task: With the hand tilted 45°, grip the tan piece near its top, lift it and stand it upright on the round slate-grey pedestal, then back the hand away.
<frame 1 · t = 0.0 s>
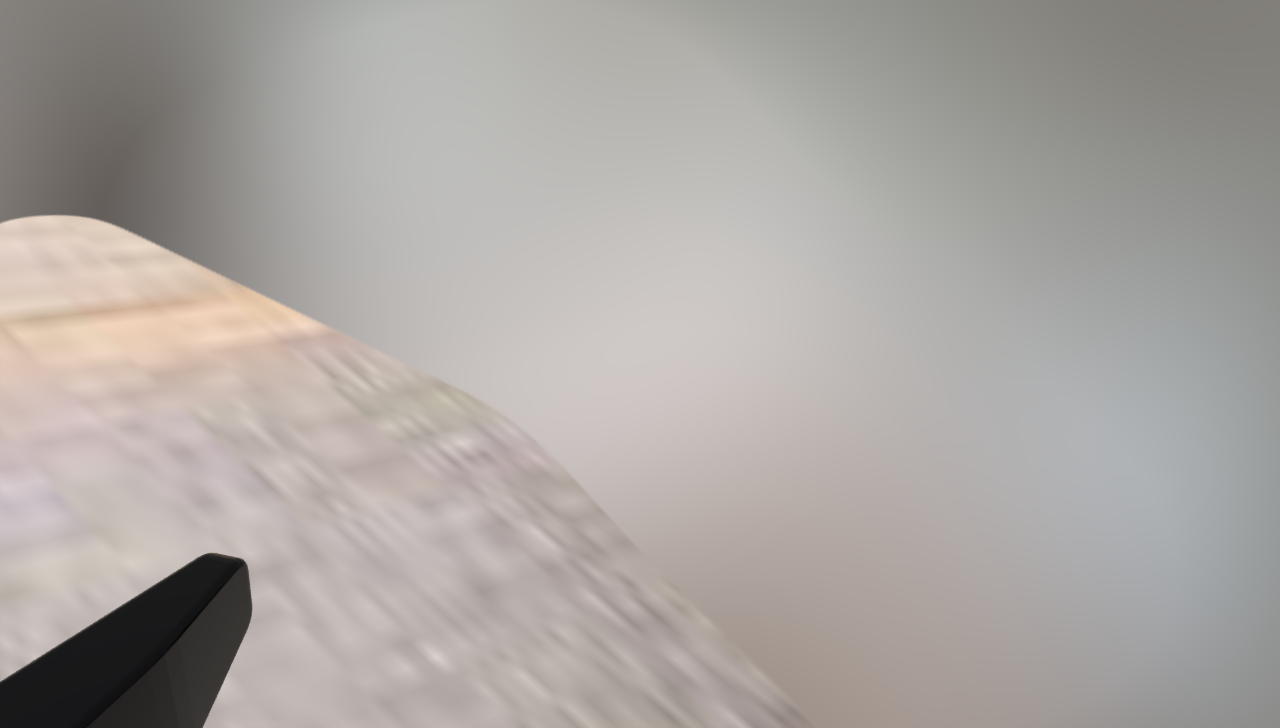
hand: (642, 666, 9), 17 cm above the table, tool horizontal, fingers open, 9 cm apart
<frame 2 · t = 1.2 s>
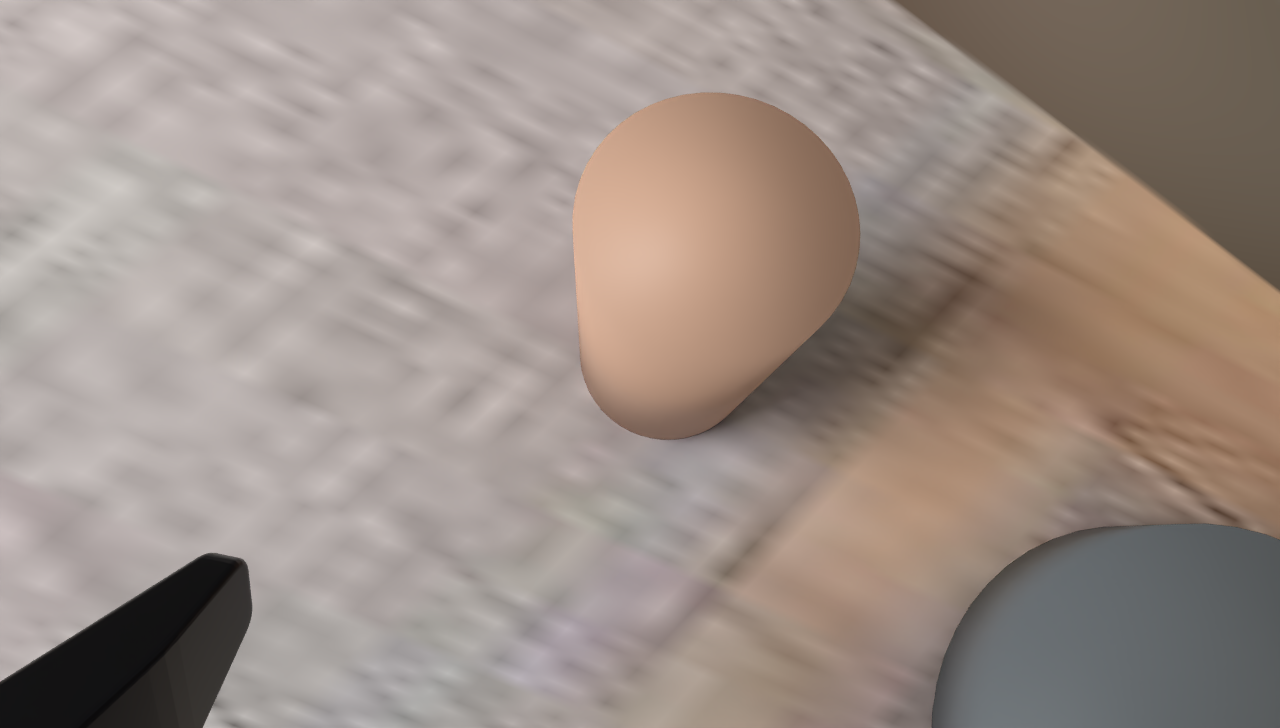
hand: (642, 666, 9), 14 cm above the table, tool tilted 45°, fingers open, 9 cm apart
tan piece: (666, 353, 24), on the table
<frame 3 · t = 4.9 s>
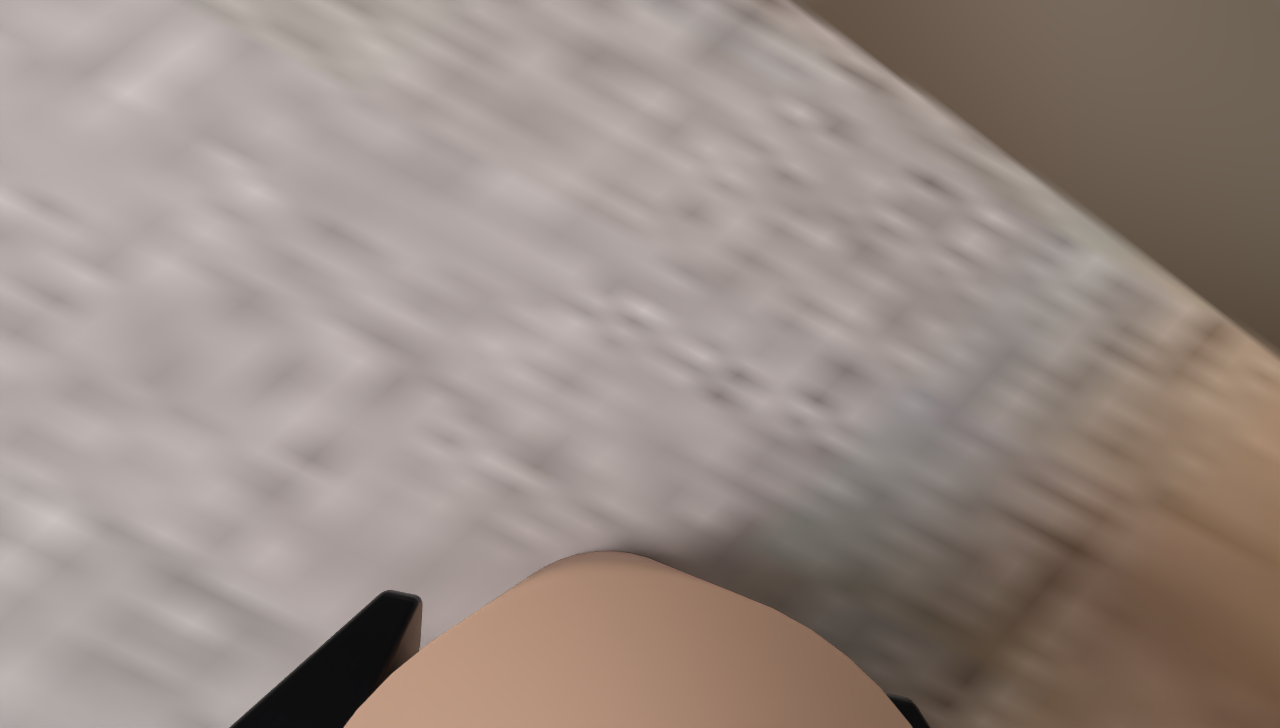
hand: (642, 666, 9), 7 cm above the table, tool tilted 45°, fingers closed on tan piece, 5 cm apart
tan piece: (605, 689, 15), on the table, touching gripper
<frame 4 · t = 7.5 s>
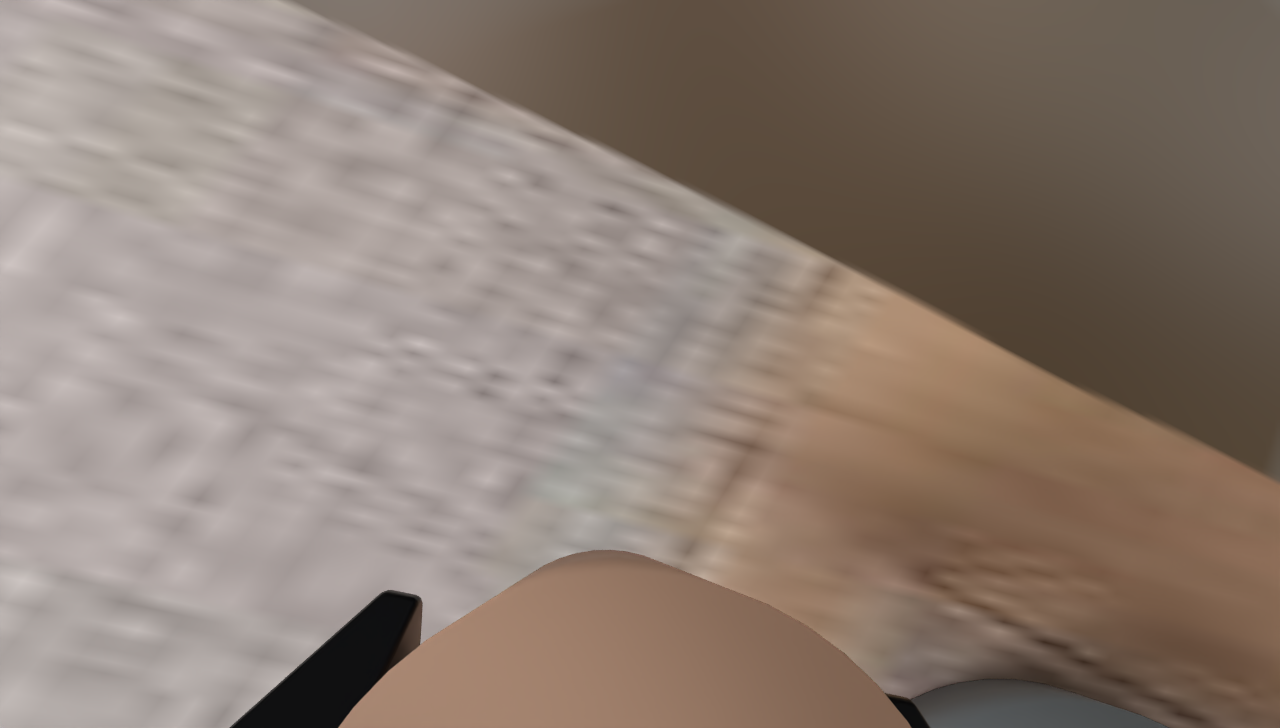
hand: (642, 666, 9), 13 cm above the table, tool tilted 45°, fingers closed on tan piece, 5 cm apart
tan piece: (604, 687, 15), point 7 cm above the table, touching gripper
when the fingers open (11 cm above the table, at t = 9.9 s): tan piece drops 1 cm, resting on pedestal.
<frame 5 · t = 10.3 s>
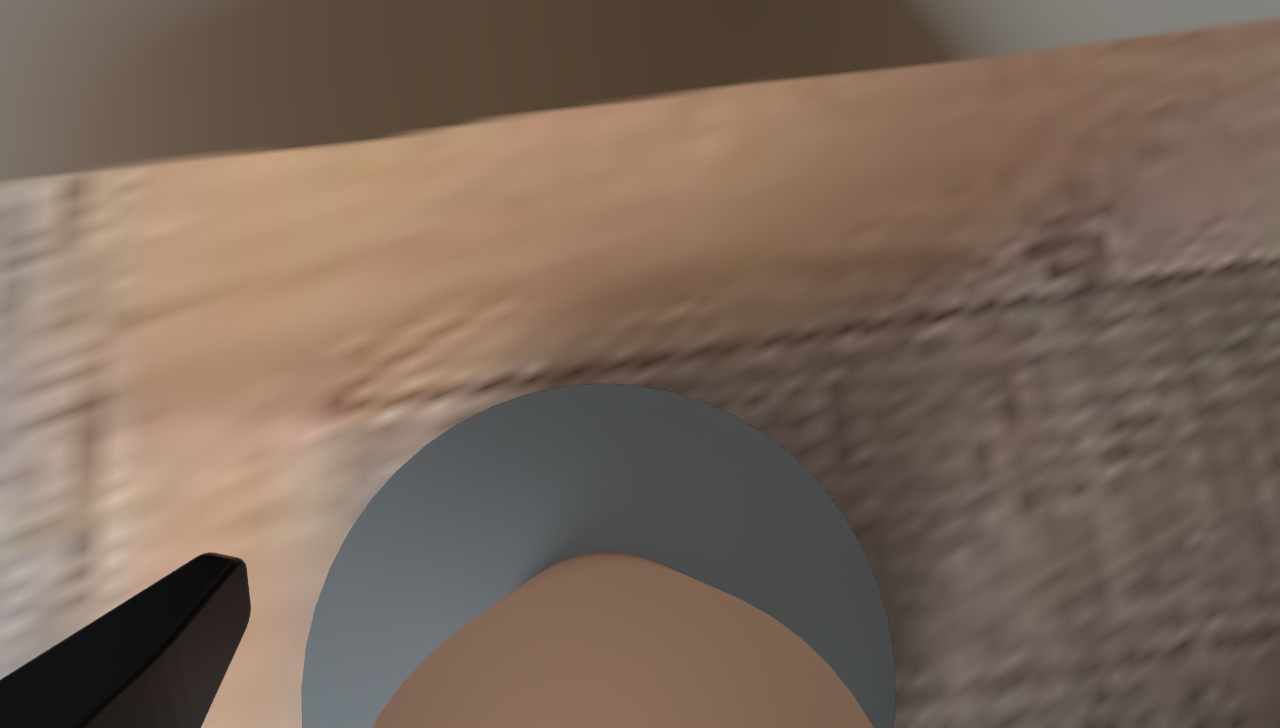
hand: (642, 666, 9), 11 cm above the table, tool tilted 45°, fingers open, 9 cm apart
tan piece: (606, 677, 17), point 3 cm above the table, touching pedestal
pedestal: (602, 654, 20), on the table
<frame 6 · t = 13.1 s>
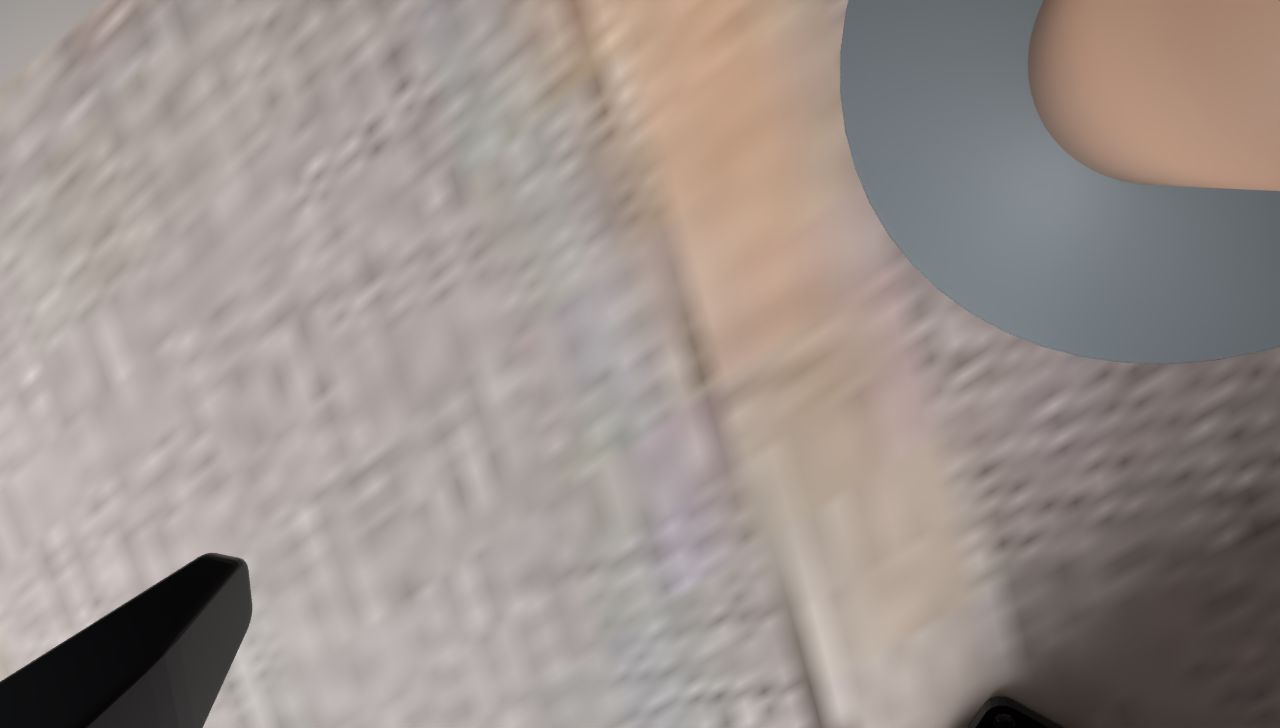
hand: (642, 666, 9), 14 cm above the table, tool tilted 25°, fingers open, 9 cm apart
tan piece: (1177, 45, 15), point 3 cm above the table, touching pedestal
pedestal: (1137, 63, 18), on the table
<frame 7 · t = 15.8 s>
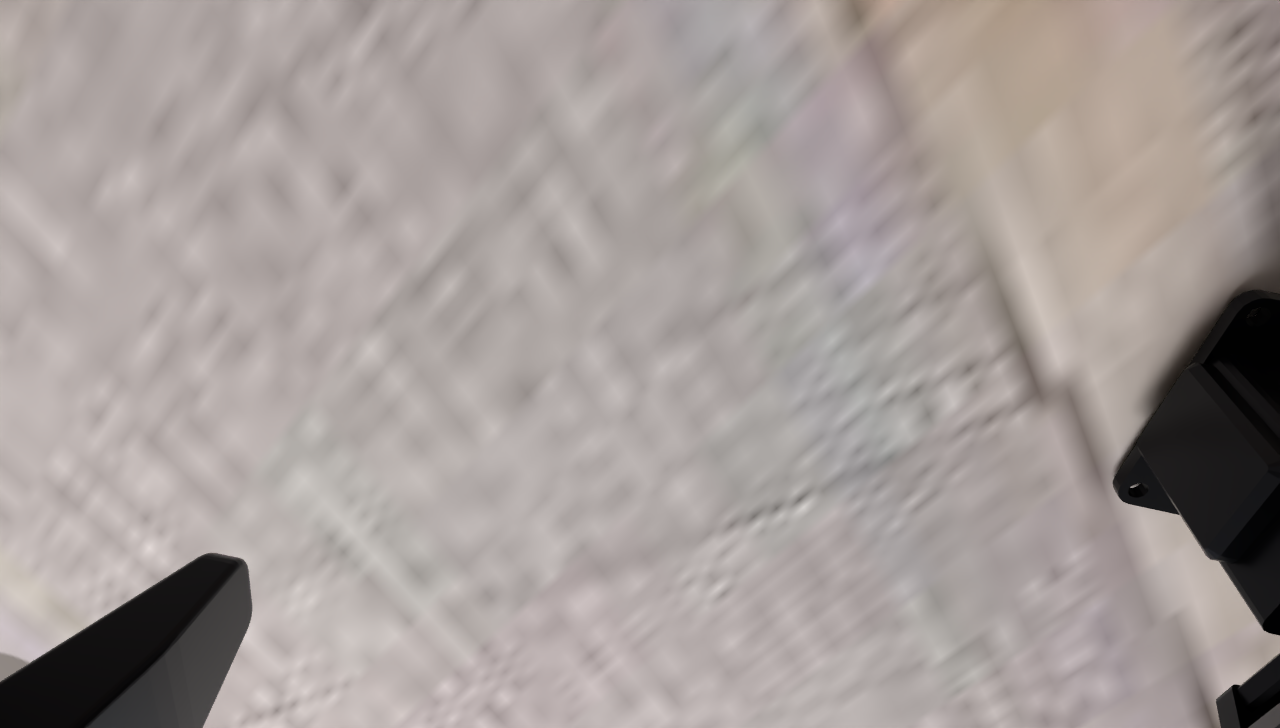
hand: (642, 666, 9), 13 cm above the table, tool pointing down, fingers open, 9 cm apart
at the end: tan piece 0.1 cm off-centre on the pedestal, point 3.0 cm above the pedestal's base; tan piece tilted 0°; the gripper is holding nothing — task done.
